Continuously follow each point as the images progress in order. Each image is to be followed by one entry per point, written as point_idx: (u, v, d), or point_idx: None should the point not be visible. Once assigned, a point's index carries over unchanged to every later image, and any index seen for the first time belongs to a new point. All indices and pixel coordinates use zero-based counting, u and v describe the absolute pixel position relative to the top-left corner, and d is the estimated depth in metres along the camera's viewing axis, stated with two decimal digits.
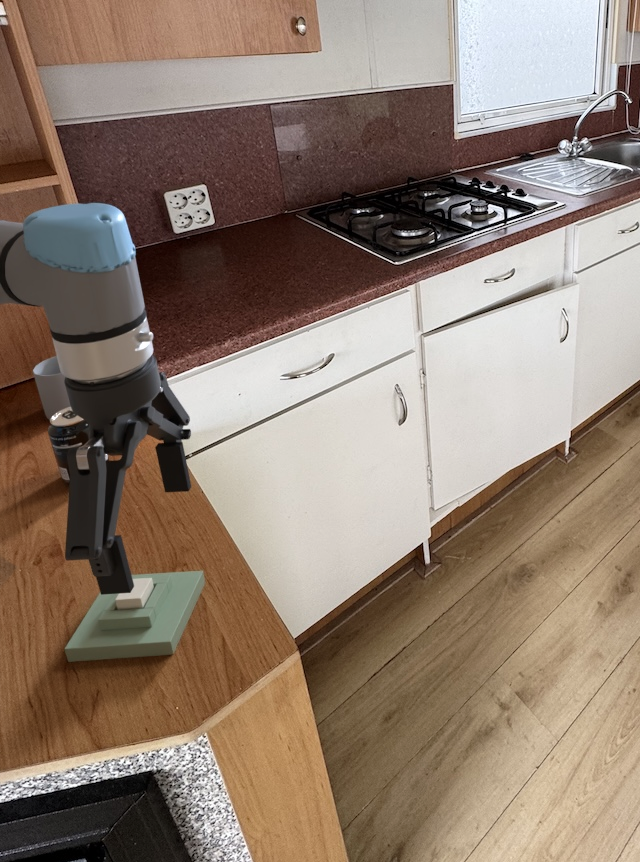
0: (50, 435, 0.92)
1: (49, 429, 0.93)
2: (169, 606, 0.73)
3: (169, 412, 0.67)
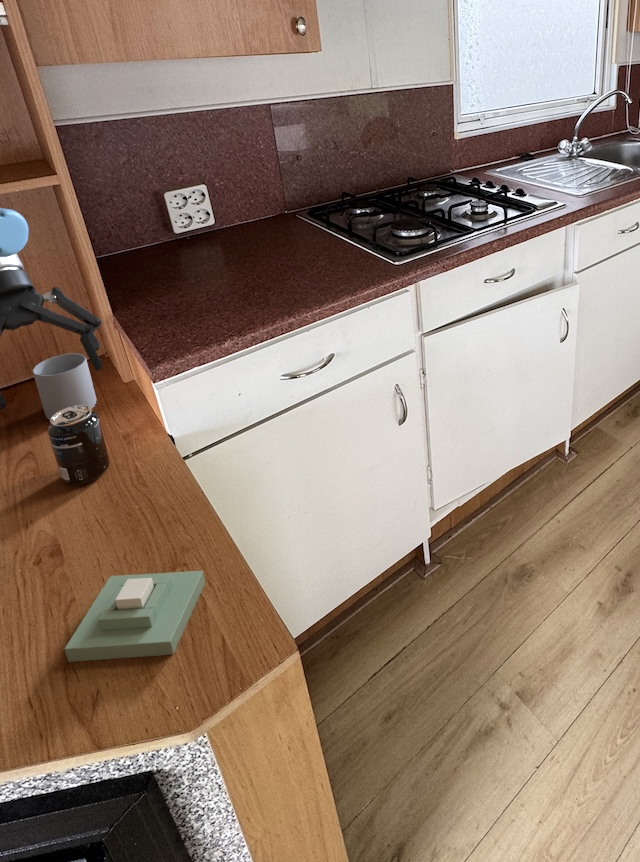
0: (50, 435, 0.92)
1: (49, 429, 0.93)
2: (169, 606, 0.73)
3: None
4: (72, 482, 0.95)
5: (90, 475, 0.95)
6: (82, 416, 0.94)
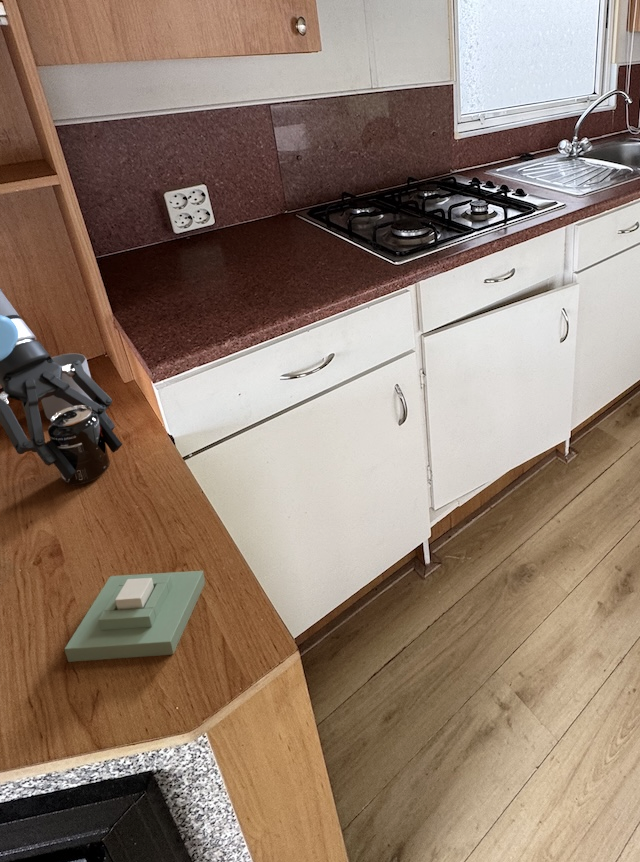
0: (50, 435, 0.92)
1: (49, 429, 0.93)
2: (169, 606, 0.73)
3: None
4: (72, 482, 0.95)
5: (90, 475, 0.95)
6: (82, 416, 0.94)
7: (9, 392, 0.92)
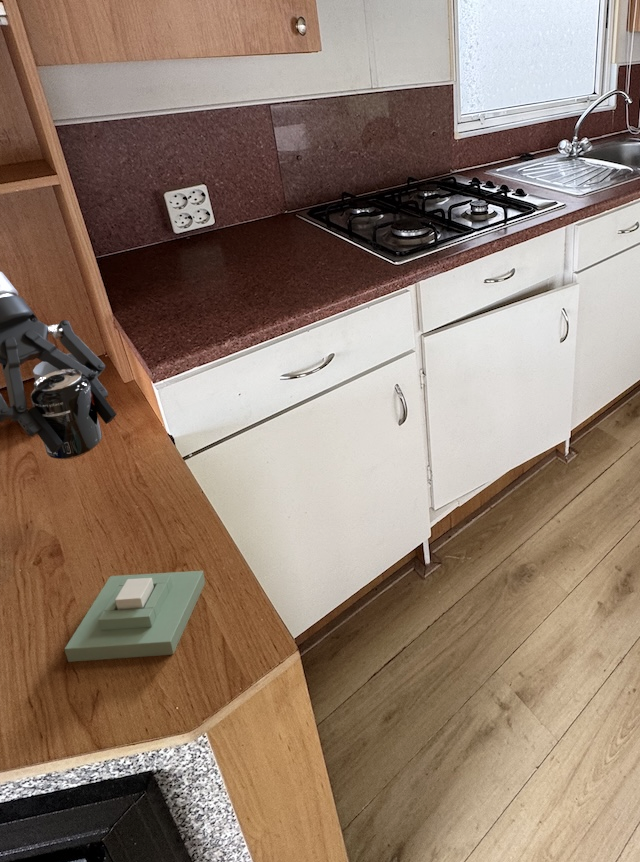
0: (33, 401, 0.80)
1: (32, 394, 0.81)
2: (169, 606, 0.73)
3: None
4: (59, 456, 0.83)
5: (79, 448, 0.83)
6: (70, 381, 0.82)
7: None
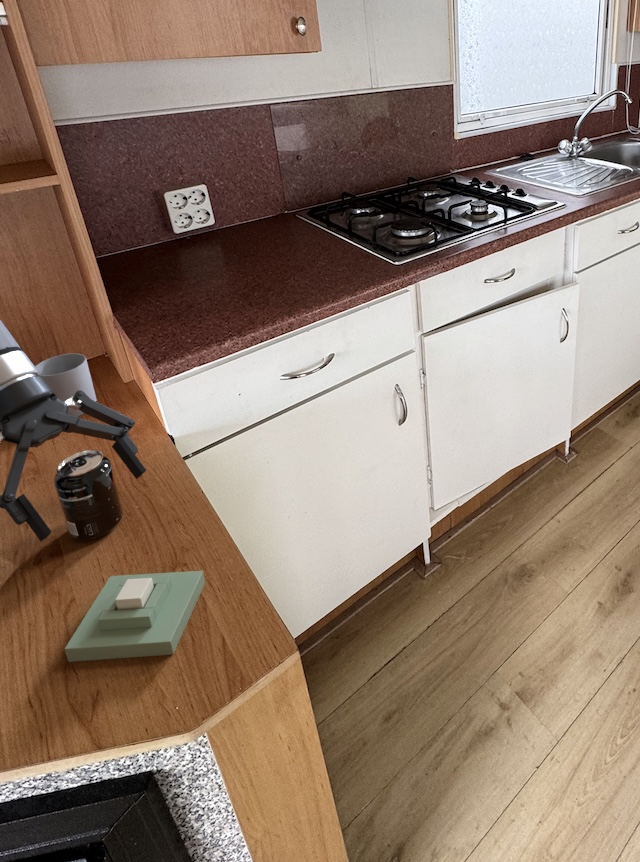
0: (57, 486, 0.82)
1: (55, 479, 0.82)
2: (169, 606, 0.73)
3: None
4: (81, 538, 0.84)
5: (101, 529, 0.85)
6: (92, 464, 0.84)
7: (5, 434, 0.82)
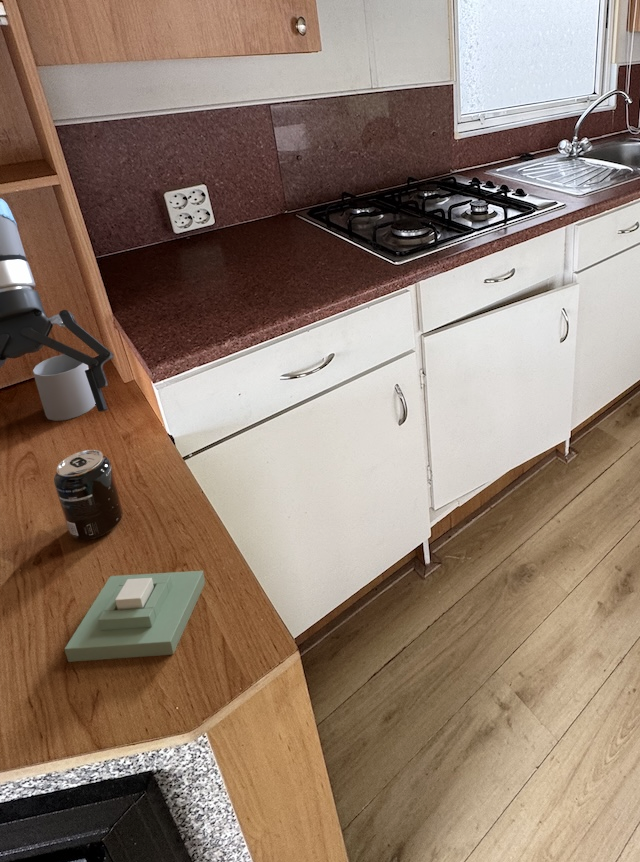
0: (57, 486, 0.82)
1: (55, 479, 0.82)
2: (169, 606, 0.73)
3: None
4: (81, 538, 0.84)
5: (101, 529, 0.85)
6: (92, 464, 0.84)
7: None
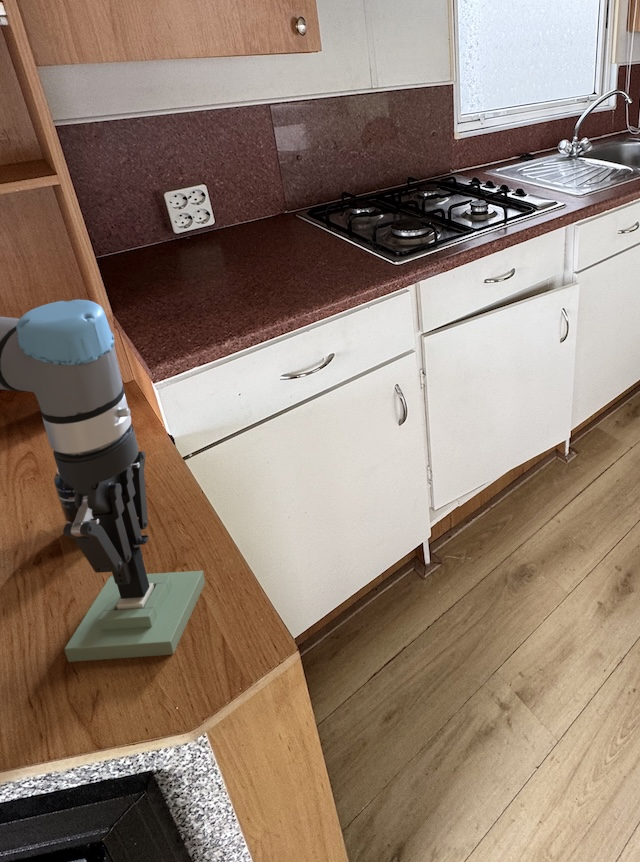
0: (57, 486, 0.82)
1: (56, 479, 0.82)
2: (169, 606, 0.73)
3: (134, 503, 0.72)
4: None
5: None
6: None
7: None
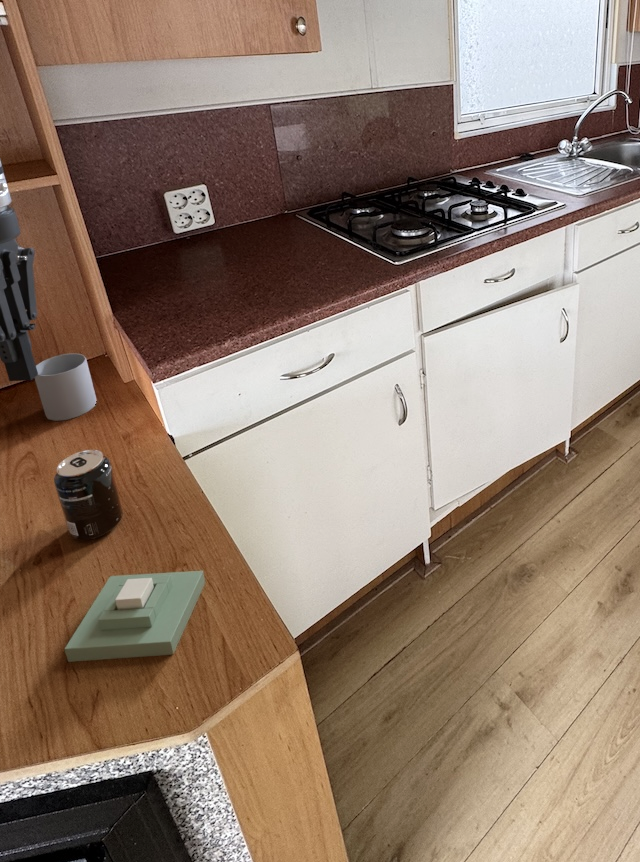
0: (57, 486, 0.82)
1: (56, 479, 0.82)
2: (169, 606, 0.73)
3: (22, 293, 0.78)
4: (81, 538, 0.84)
5: (101, 529, 0.85)
6: (92, 464, 0.84)
7: None
